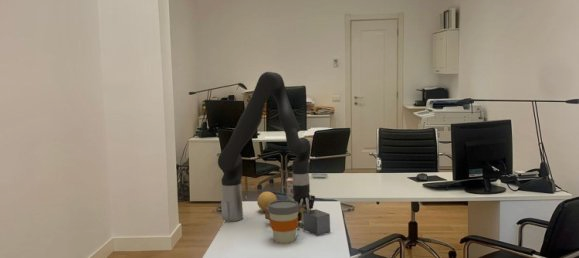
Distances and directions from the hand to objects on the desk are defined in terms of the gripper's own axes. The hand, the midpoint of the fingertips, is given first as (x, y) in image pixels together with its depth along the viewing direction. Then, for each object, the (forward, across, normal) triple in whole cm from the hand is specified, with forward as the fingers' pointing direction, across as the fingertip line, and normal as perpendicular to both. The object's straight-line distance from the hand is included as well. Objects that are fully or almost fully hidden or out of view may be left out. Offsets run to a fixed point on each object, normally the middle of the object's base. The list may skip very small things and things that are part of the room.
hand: (302, 219), depth 210 cm
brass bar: (0, 0, +3) cm, 3 cm away
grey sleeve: (+3, 0, +10) cm, 11 cm away
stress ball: (+3, 0, -29) cm, 29 cm away
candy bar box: (+3, -11, -18) cm, 21 cm away
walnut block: (+3, 0, -11) cm, 11 cm away
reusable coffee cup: (+3, +16, +9) cm, 19 cm away
